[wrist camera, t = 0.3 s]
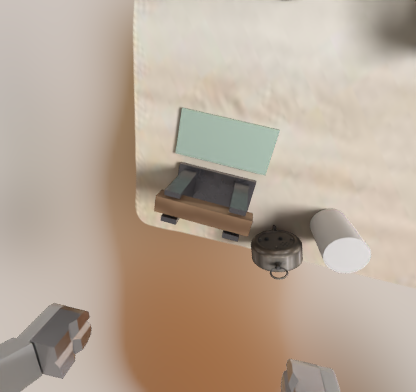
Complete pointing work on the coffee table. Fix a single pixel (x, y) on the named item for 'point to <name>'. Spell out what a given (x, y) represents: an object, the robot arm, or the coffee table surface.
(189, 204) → the rail
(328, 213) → the white cylinder
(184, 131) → the mat
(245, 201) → the hook stand
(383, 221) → the coffee table surface
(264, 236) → the alarm clock
